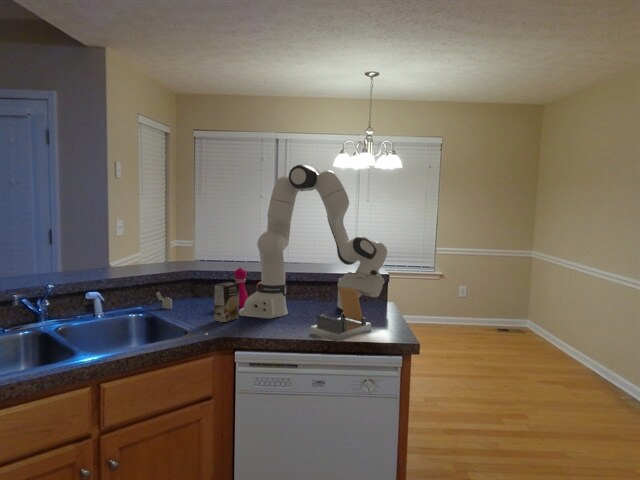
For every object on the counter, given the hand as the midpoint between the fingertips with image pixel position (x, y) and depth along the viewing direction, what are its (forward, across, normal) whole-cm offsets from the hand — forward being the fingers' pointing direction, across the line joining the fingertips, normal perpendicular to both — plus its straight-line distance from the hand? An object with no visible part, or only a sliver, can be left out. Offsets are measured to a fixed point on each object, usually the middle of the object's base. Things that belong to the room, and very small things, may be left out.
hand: (351, 300), depth 183 cm
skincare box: (-10, -23, +28) cm, 37 cm away
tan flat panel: (+2, 0, +1) cm, 2 cm away
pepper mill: (+15, -62, +2) cm, 63 cm away
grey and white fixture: (+13, 0, +4) cm, 13 cm away
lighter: (+36, -81, -19) cm, 91 cm away
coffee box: (+29, -45, -12) cm, 55 cm away
